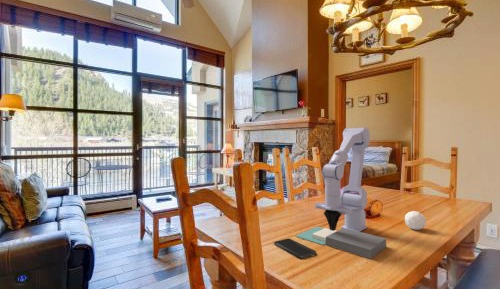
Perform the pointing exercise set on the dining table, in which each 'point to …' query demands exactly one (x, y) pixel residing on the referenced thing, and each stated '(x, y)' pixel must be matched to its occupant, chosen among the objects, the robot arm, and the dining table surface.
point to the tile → (322, 234)
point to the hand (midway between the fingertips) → (332, 229)
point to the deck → (356, 242)
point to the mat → (308, 235)
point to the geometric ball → (415, 220)
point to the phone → (295, 248)
